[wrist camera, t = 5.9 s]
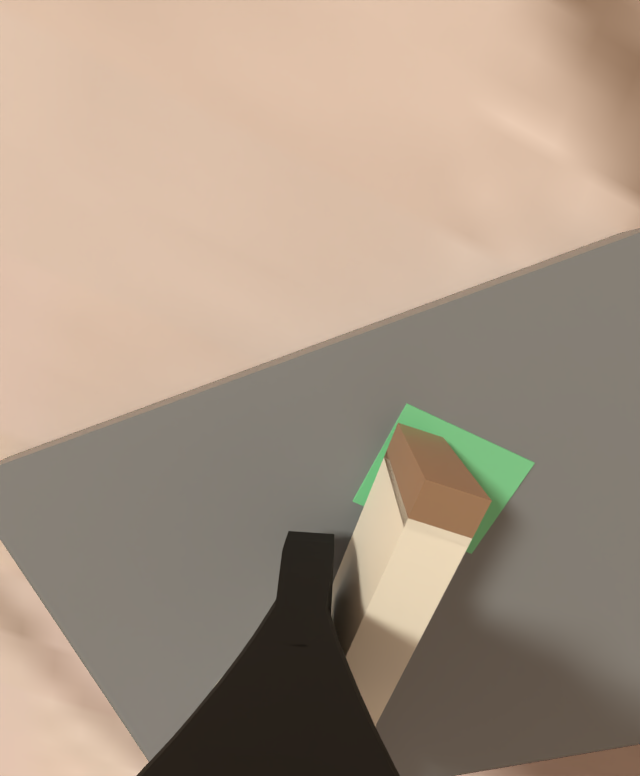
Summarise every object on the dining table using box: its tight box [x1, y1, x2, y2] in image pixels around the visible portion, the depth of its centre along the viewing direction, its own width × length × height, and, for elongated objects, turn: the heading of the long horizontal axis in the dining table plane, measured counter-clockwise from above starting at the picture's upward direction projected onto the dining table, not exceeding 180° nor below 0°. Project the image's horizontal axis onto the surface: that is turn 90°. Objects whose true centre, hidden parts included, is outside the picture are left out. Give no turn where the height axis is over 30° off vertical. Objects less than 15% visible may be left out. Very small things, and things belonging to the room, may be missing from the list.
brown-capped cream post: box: [331, 423, 492, 726], centre depth 9 cm, size 14×4×3 cm, turn 162°
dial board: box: [0, 228, 640, 776], centre depth 11 cm, size 16×20×2 cm
